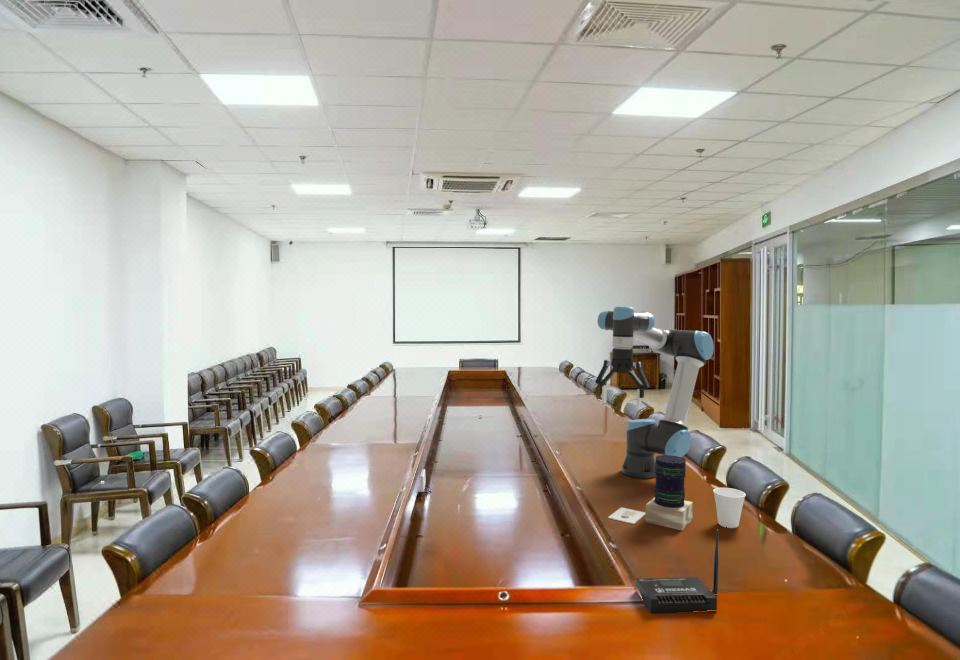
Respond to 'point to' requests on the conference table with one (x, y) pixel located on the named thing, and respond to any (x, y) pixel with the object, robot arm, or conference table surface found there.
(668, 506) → the storage jar
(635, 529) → the conference table surface
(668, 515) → the base block
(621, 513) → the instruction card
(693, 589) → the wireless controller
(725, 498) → the cup
